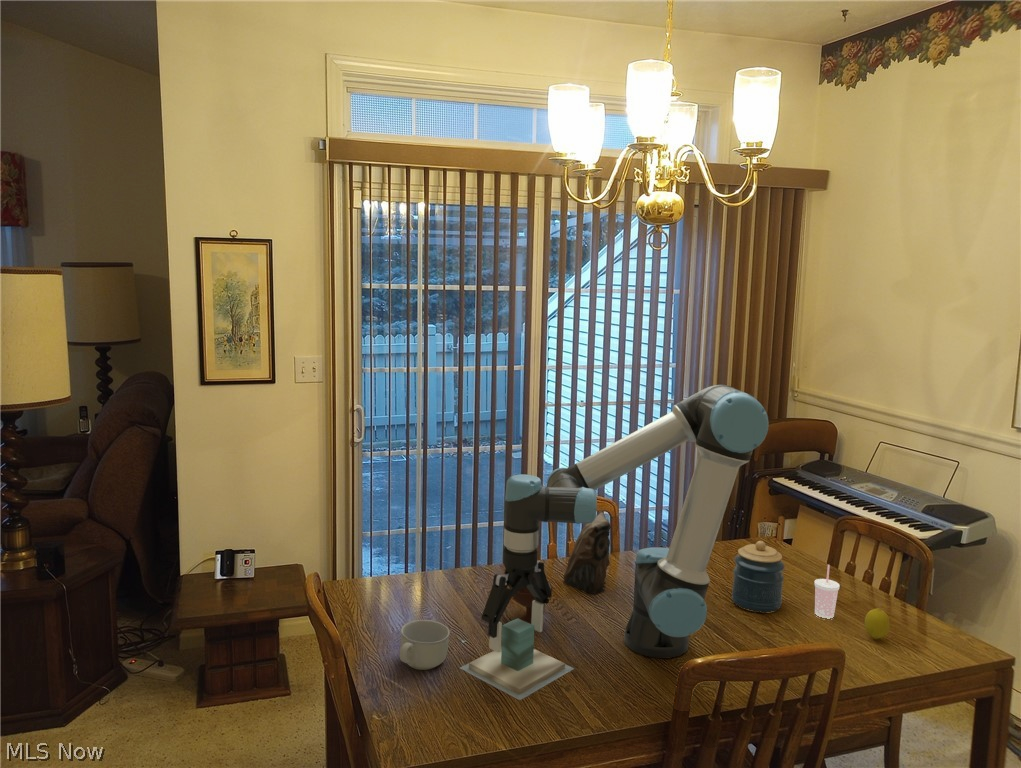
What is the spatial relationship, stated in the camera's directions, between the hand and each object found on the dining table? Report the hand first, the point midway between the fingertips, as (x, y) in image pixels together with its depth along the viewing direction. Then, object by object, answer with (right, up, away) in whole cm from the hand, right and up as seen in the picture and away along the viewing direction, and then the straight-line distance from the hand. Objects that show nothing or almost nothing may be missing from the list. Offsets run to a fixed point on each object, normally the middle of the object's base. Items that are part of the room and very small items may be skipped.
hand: (516, 639), depth 167 cm
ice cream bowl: (+3, -4, +25) cm, 26 cm away
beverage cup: (+81, -5, +32) cm, 87 cm away
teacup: (-21, -7, +2) cm, 22 cm away
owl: (+20, -1, +49) cm, 53 cm away
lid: (0, -7, +1) cm, 7 cm away
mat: (0, -7, +1) cm, 7 cm away
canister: (+65, -4, +39) cm, 76 cm away
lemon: (+89, -7, +20) cm, 91 cm away
